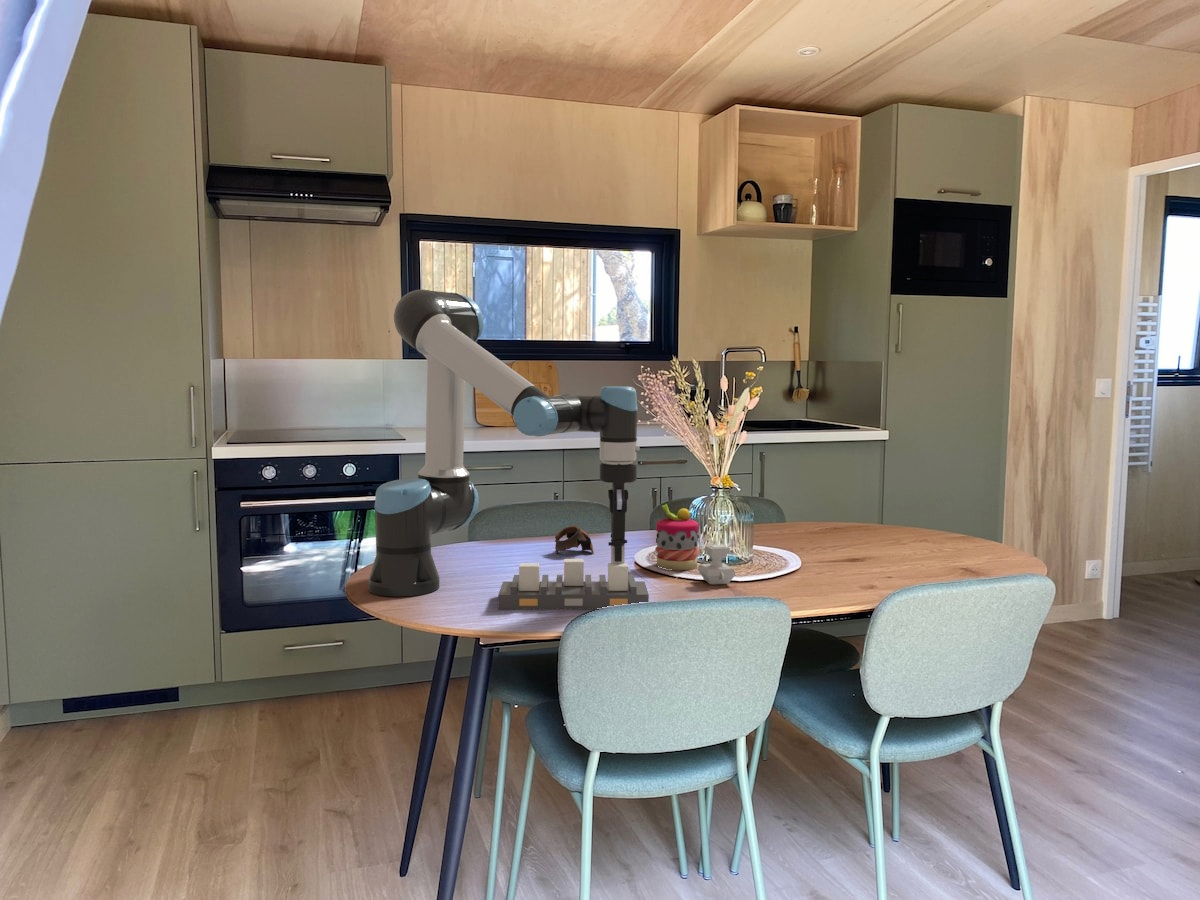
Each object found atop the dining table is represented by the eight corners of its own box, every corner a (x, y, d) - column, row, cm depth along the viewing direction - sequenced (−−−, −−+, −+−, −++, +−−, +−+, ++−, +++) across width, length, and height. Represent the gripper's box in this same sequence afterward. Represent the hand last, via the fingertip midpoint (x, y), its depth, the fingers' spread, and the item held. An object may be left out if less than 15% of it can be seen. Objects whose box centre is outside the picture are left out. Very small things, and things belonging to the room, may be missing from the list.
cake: (695, 561, 223) (696, 502, 221) (701, 571, 212) (702, 508, 211) (653, 561, 223) (654, 502, 221) (657, 571, 212) (658, 508, 211)
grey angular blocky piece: (695, 579, 204) (696, 542, 204) (723, 577, 206) (723, 541, 205) (708, 588, 196) (709, 550, 195) (737, 587, 197) (738, 549, 196)
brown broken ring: (599, 558, 229) (585, 532, 225) (565, 574, 229) (552, 549, 226) (592, 537, 240) (579, 513, 237) (560, 553, 240) (547, 528, 237)
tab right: (608, 590, 180) (608, 566, 180) (607, 587, 183) (607, 563, 183) (628, 590, 180) (628, 566, 180) (627, 587, 183) (627, 563, 183)
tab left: (519, 590, 180) (519, 566, 179) (520, 587, 183) (520, 563, 182) (539, 590, 180) (539, 566, 179) (539, 587, 183) (539, 563, 182)
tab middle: (564, 585, 184) (564, 561, 184) (564, 582, 187) (564, 558, 187) (583, 585, 184) (583, 561, 184) (583, 582, 187) (583, 558, 187)
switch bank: (498, 609, 177) (498, 587, 177) (503, 595, 189) (502, 574, 188) (648, 609, 178) (648, 587, 178) (644, 595, 189) (644, 574, 189)
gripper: (638, 465, 175) (637, 583, 177) (634, 458, 188) (633, 568, 190) (600, 465, 175) (600, 583, 177) (599, 458, 188) (598, 568, 190)
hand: (617, 575), depth 184 cm, fingers closed
